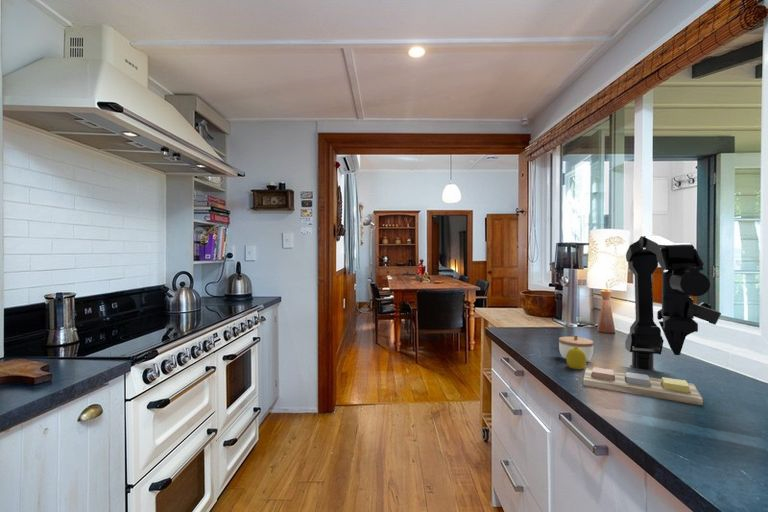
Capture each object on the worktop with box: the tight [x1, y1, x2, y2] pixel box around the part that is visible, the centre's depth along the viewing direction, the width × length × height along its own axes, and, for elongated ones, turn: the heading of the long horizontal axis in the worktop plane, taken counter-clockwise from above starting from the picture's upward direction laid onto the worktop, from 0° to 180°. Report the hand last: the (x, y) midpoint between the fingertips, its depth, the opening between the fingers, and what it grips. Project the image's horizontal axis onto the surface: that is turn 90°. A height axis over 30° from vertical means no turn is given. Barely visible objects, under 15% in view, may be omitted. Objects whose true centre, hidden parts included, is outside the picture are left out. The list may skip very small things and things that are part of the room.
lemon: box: [565, 347, 587, 370], centre depth 116 cm, size 6×6×8 cm
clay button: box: [592, 366, 615, 381], centre depth 103 cm, size 5×5×3 cm
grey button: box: [625, 371, 650, 387], centre depth 99 cm, size 5×5×3 cm
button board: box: [582, 367, 704, 406], centre depth 99 cm, size 12×25×3 cm, turn 58°
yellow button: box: [661, 376, 689, 393], centre depth 95 cm, size 5×5×3 cm
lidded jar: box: [558, 334, 595, 362], centre depth 127 cm, size 11×11×9 cm
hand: (675, 352), depth 94 cm, fingers open, 5 cm apart
